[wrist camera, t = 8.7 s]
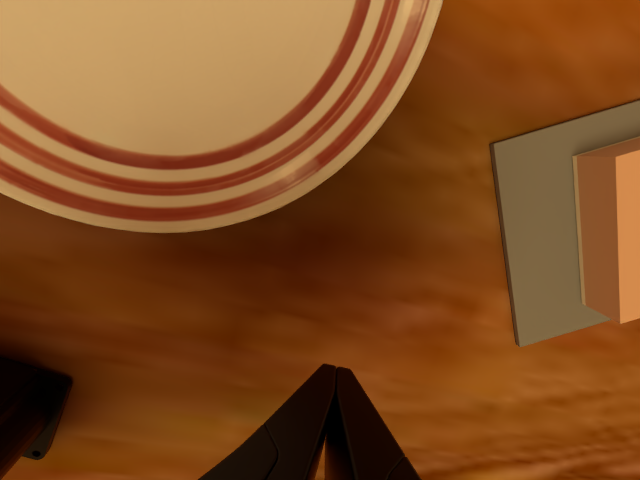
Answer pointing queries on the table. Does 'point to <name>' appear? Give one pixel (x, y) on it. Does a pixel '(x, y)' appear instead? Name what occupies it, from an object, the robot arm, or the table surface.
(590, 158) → the tile
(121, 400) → the table surface
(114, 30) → the dinner plate
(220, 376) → the table surface
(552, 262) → the mat
